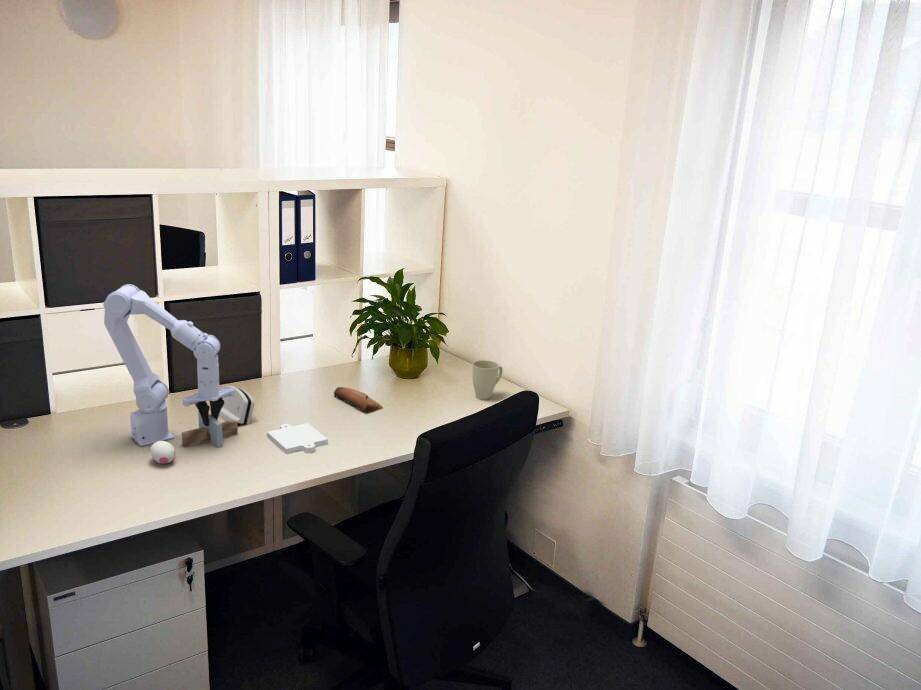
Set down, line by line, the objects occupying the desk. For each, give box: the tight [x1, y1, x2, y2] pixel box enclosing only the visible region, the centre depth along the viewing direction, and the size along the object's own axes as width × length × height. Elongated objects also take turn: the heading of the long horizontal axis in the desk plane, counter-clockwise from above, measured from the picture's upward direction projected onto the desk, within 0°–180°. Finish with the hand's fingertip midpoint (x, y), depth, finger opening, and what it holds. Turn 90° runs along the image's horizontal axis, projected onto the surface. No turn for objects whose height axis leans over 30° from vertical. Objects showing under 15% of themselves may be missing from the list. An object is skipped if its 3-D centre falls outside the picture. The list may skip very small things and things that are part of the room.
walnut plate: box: [181, 420, 238, 448], centre depth 222 cm, size 16×2×4 cm, turn 132°
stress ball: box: [150, 440, 178, 465], centre depth 208 cm, size 8×8×7 cm
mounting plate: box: [266, 422, 329, 455], centre depth 226 cm, size 18×13×2 cm
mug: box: [472, 359, 503, 401], centre depth 267 cm, size 11×10×12 cm
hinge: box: [209, 385, 256, 425], centre depth 239 cm, size 17×5×10 cm, turn 44°
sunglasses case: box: [333, 386, 384, 414], centre depth 256 cm, size 18×7×7 cm
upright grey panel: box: [197, 410, 224, 448], centre depth 222 cm, size 2×12×7 cm, turn 42°
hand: (210, 424), depth 221 cm, fingers closed
